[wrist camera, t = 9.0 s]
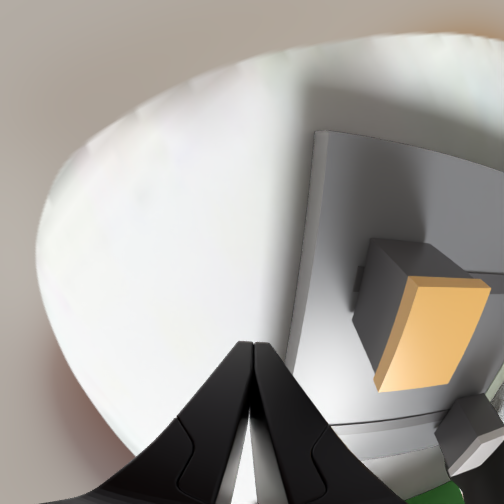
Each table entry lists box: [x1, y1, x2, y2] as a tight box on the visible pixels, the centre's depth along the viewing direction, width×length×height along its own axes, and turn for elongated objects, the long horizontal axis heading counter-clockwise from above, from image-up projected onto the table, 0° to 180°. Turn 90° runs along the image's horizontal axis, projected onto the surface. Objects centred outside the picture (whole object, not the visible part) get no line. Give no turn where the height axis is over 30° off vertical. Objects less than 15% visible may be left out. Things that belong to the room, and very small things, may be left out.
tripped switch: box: [352, 238, 491, 393], centre depth 11 cm, size 3×4×4 cm
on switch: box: [434, 393, 504, 477], centre depth 15 cm, size 3×4×4 cm
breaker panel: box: [285, 131, 504, 461], centre depth 16 cm, size 18×22×3 cm
